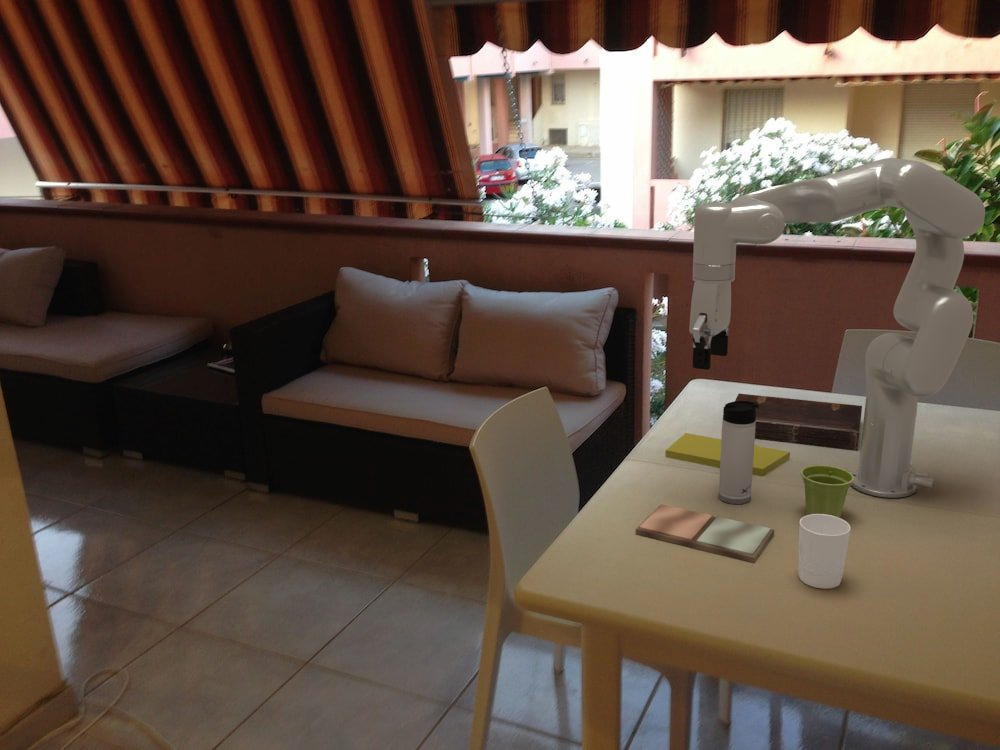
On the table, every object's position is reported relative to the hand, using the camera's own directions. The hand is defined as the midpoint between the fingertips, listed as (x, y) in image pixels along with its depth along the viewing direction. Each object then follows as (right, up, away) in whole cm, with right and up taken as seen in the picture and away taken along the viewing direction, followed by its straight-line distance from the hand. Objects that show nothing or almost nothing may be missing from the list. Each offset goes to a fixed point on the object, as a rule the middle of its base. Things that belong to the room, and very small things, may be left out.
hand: (710, 361), depth 175 cm
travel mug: (+7, -27, +10) cm, 30 cm away
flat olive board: (+10, -21, +30) cm, 38 cm away
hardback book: (+30, -16, +46) cm, 57 cm away
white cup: (+14, -37, -20) cm, 44 cm away
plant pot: (+22, -30, +2) cm, 37 cm away
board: (-2, -32, -5) cm, 32 cm away
